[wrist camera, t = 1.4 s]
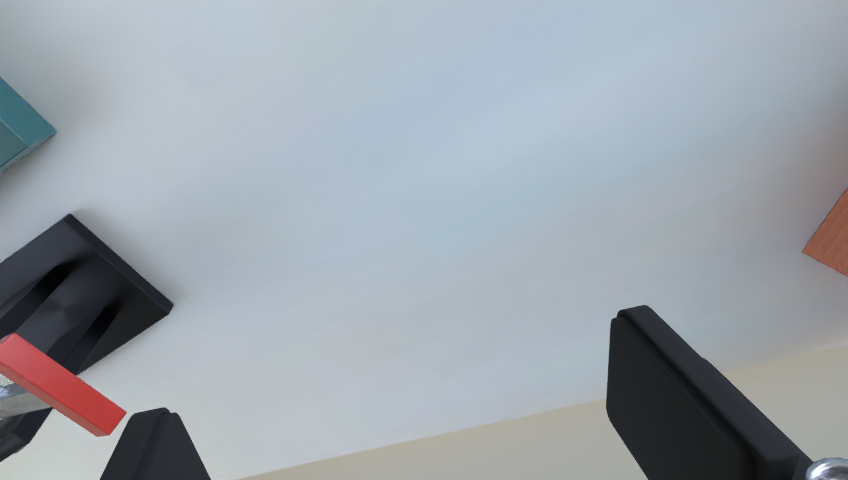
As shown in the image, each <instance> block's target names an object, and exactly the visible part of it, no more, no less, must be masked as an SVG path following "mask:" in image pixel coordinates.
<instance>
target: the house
mask: <svg viewBox="0 0 848 480" xmlns="http://www.w3.org/2000/svg"><path fill="white" fill-rule="evenodd" d="M802 253H804V254H806V255H808V256H810V257H812V258H814V259H815V260H817V261H819V262H821V263H823V264H825V265H827V266H828V267H830V268H832V269H834V270H836V271H838V272H840V273H841V274H843V275H845V276H847V277H848V188H847V190H846V191H845V192H844V194H843V195H842V197H841V198H840V199H839V201H838V202H837V204H836V205H835V206H834V208H833V209H832V211H831V212H830V213H829V215H828V216H827V218H826V219H825V220H824V222H823V223H822V225H821V226H820V227H819V229H818V230H817V232H816V233H815V234H814V236H813V237H812V239H811V240H810V241H809V243H808V244H807V246H806V247H805V248H804V250H803V251H802Z"/></svg>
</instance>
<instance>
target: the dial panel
mask: <svg viewBox="0 0 848 480" xmlns="http://www.w3.org/2000/svg"><path fill="white" fill-rule="evenodd" d="M56 133H57V131H56V130H55V129H54V128H53V127H51V126H50V125H49V124H48V123H47V122H46V121H45V120H44V119H43V118H42V117H41V116H40V115H39V114H38V113H37V112H36V111H35V110H34V109H33V108H32V107H31V106H30V105H28V104H27V103H26V102H25V101H24V100H23V99H22V98H21V97H20V96H19V95H18V94H17V93H16V92H15V91H14V90H13V89H12V88H11V87H10V86H9V85H8V84H7V83H5V82H4V81H3V80H2V79H1V78H0V175H1V174H2V173H4V172H5V171H6V170H8V169H9V168H10V167H12V166H13V165H14V164H16V163H17V162H18V161H20V160H21V159H22V158H24V157H25V156H26V155H28V154H29V153H30V152H32V151H33V150H35V149H36V148H37V147H39V146H40V145H41V144H43V143H44V142H45V141H47V140H48V139H49V138H51V137H52V136H53V135H55V134H56Z"/></svg>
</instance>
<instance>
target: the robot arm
mask: <svg viewBox="0 0 848 480" xmlns="http://www.w3.org/2000/svg"><path fill="white" fill-rule="evenodd" d="M606 401H607V402H606V409H607V414H608V417H609V419H610V421H611V423H612V425H613V426H614V428H615V429H616V431H617V433H618V434H619V436H620V437H621V439H622V440H623V441H624V443H625V445H626V446H627V448H628V449H629V451H630V452H631V454H632V455H633V457H634V458H635V460H636V461H637V463H638V464H639V466H640V467H641V469H642V470H643V472H644V474H645V475H646V477H647V478H648V480H848V459H844V458H824V459H821V460H818V461H816V462H813V461H812V460H811V459H810V458H809V457H808V456H806V454H804V453H803V452H802V451H801V450H800V449H799V448H798V447H797V446H796V445H795V444H794V443H793V442H792V441H791V440H790V439H789V438H788V437H787V436H786V435H785V434H784V433H783V432H782V431H781V430H779V429H778V428H777V427H776V426H775V425H774V424H773V423H772V422H771V421H770V420H769V419H768V418H767V417H766V416H765V415H764V414H763V413H762V412H761V411H760V410H759V409H758V408H757V407H756V406H755V405H754V404H752V403H751V402H750V401H749V400H748V399H747V398H746V397H745V396H744V395H743V394H742V393H741V392H740V391H739V390H738V389H737V388H736V387H735V386H734V385H733V384H732V383H731V382H730V381H729V380H728V379H727V378H726V377H724V376H723V375H722V374H721V373H720V372H719V371H718V370H717V369H716V368H715V367H714V366H713V365H712V364H711V363H710V362H708V361H707V360H706V359H704V358H702V357H701V356H700V355H699V354H698V353H696V352H695V351H694V350H693V349H692V348H691V347H690V346H689V345H688V344H687V343H686V342H685V341H684V340H683V339H682V338H681V337H680V336H679V335H678V334H677V333H676V332H675V331H674V330H673V329H672V328H671V327H670V326H669V325H668V324H667V323H666V322H665V321H664V320H662V319H661V318H660V317H659V316H658V315H657V314H656V313H655V312H654V311H653V310H652V309H651V308H650V307H648V306H646V305H642V306H637V307H632V308H628V309H623V310H620V311H619V312H618V314H617V318H614V319H612V321H611V328H610V346H609V364H608V382H607V400H606ZM100 480H211V479H210V477H209V475H208V473H207V471H206V469H205V467H204V465H203V463H202V461H201V459H200V457H199V455H198V453H197V451H196V448H195V446H194V444H193V442H192V440H191V438H190V436H189V434H188V432H187V430H186V428H185V426H184V424H183V422H182V420H181V418H180V416H179V415H178V414H177V413H170V411H169V410H168V409H167V408H158V409H153V410H149V411H144V412H139V413H135V414H133V415H132V416H131V418H130V419H129V421H128V423H127V425H126V427H125V429H124V431H123V433H122V435H121V437H120V439H119V441H118V443H117V445H116V447H115V449H114V452H113V454H112V456H111V458H110V460H109V462H108V464H107V466H106V468H105V470H104V472H103V474H102V476H101V478H100Z"/></svg>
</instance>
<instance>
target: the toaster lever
mask: <svg viewBox="0 0 848 480" xmlns="http://www.w3.org/2000/svg"><path fill="white" fill-rule="evenodd" d="M0 373H1V374H3V375H4V376H6V377H7V378H9V379H10V380H12V381H13V382H15V383H13V384H10V385H7V386H1V385H0V422H1V421H2V420H3V419H4V418H5V417H10V416H14V415H19V414H23V413H28V412H32V411H36V410H41V409H45V408H50V407H53V408H54V409H56V410H57V411H59V412H60V413H62V414H63V415H65V416H66V417H68V418H70V419H71V420H73V421H74V422H76V423H77V424H79V425H80V426H82V427H83V428H85V429H86V430H88V431H89V432H91V433H92V434H94V435H95V436H97V437H99V436H106V435H110V434H111V433H112V431H113V430H114V429H115V427H116V426H117V425H118V424H119V422H120V421H121V420H122V418H123V417H124V416H125V415H126V413H127V412H126V411H125V410H123V409H122V408H120V407H119V406H118V405H116V404H115V403H113V402H112V401H110V400H109V399H108V398H106V397H105V396H103V395H102V394H101V393H99V392H98V391H96V390H95V389H94V388H92V387H91V386H89V385H88V384H87V383H85V382H84V381H82V380H81V379H79V378H78V377H77V376H75V375H74V374H72V373H71V372H70V371H68V370H67V369H65V368H64V367H63V366H61V365H60V364H58V363H57V362H56V361H54V360H53V359H51V358H50V357H48V356H47V355H46V354H44V353H43V352H41V351H40V350H39V349H37V348H36V347H34V346H33V345H32V344H30V343H29V342H27V341H26V340H25V339H23V338H22V337H20V336H19V335H17V334H16V333H12V334H10V335H8V336H5V337H3V338H2V339H1V340H0Z"/></svg>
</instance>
